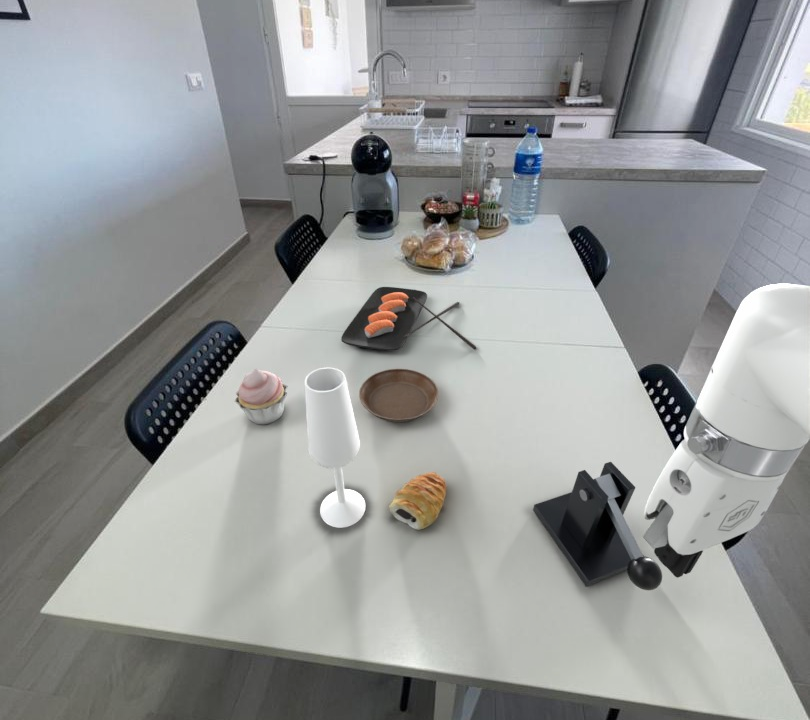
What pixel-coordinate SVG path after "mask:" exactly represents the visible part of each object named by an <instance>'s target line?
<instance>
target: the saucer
mask: <svg viewBox="0 0 810 720" xmlns="http://www.w3.org/2000/svg"><path fill="white" fill-rule="evenodd" d="M358 397H359V401H360V403H361V405H362V406H363V408H364V409H366V410H367V411H368V412H369V413H370V414H371V415H373V416H375V417H377V418H379V419H381V420H385V421H388V422H395V423H396V422H397V423H402V422H409V421H413V420H416V419H419V418H421V417H423V416H424V415H426V414H427V413H429V412H430V411H431V410H432V409H433V408H434V407H435V406H436V404H437V402H438V399H439V389H438V387H437V384H436V383H435V381H434V380H433V379H431V378H430V377H429V376H427V375H426V374H424V373H423V372H419V371H417V370H413V369H408V368H390V369H385V370H381V371H379V372H376V373H374V374H372V375H370V376H369V377H367V379H365V381H363V383H362V384H361V386H360V388H359V391H358Z"/></svg>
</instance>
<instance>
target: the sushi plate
mask: <svg viewBox="0 0 810 720" xmlns="http://www.w3.org/2000/svg"><path fill="white" fill-rule="evenodd" d="M427 299H428V294H427V292H425V291H422V290H418V289H412V288H405V287H404V288H403V287H394V286H379V287H378V288H376V289H374V291H373V292H372V293H371V295H370V296H369V297H368V299H367V300H366V301H365V303H364V304H363V305H362V307H361V308H360V309H359V311H358V312H357V314H356V315H355V317H354V318H352V321H351V322H349V325H348V326H347V327H346V328H345V330H344V332H342V335H341V337H340V338H341V339H340V340H341V343H343V344H345V345H349V346H353V347H357V348H364V349H371V350H378V351H386V352H387V351H388V352H393V351H397V350H399V349H401V348H402V347H403V345H404V344H405V343H406V341H407V339H408V337H409V336H410V335H412V334H414V333H415V332H416V331H417V330H419V329H421V328H422V327H424V326H426V325H427V324H429V323H430V322H432V321H434V320H435V319H437V320H438V321H439V322H441V323H442V324H443V325H444V326H445V327H447V329H449V330H450V331H451V332H452V333H454V334H455V335H456V336H457V337H458V338H460V339H461V340H462V341H463V342H464V343H465V344H467V345H468V346H469V347H470V348H471V349H473V350H477V346H476V345H475V344H474V343H473V342H471V341H470V340H468V339H467V338H466V337H465V336H463V335H462V334H461V333H460V332H459V331H458V330H456V329H455V328H453V327H452V326H450V325H449V324H448V323H446V322H445V321H444V320H443V319H441V318H440V317H441V316H442V315H444V314H446V313H447V312H449V311H451V310H453V309H454V308H456V307H457V306H459V305H460V301H457V302H455V303H453V304H452V305H450V306H448V307H447V308H445V309H443V310H442V311H441V312H439V313H437V315H436V313H434V312H433V311H432V310H431V309H429V308H428V307H426V306H425V303H426V302H427ZM423 309H425V310H426V311H427V312H428V313H430V314H431V315H432V316H433V317H431V318H430V319H428V320H427V321H426V322H424V323H422V324H420V325H419V326H418V327H416V328H414V329H413V327H414V325H415V323H416V321H417V319H418V318H419V315H420V313H421V311H422V310H423ZM412 329H413V330H412Z"/></svg>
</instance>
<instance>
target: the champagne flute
mask: <svg viewBox="0 0 810 720" xmlns="http://www.w3.org/2000/svg"><path fill="white" fill-rule="evenodd" d="M304 397H305V414H306V415H305V416H306V429H307V430H306V434H307V450H308V451H307V452H308V454H309V457H310V458H311V460H312V461H313V462H314V463H316V464H317V465H318V466H319V467H322V468H325V469H329V470H333V477H334V478H333V479H334V484H335V490H334V491H333V492H331V493H330V494H328V495H327V496H326V497H325V498H324V499H323V500H322V502H321V504H320V508H319V512H320V513H319V515H320V517H321V519H322V521H323V522H324V523H325V524H327V525H328V526H330V527H333V528H337V529H340V528H342V529H344V528H348V527H352V526H354V525H355V524H357V523H358V522H359V521H361V519H362V518H363V517H364V514H365V511H366V508H367V507H366V501H365V498H364V497H363V495H362V494H360V493H359V492H358V491H356V490H353V489H350V488H349V489H348V488H345V483H344V474H343V468H344V467H346V466H347V465H349V464H351V463H352V462H353V460H354V459H355V458H356V457H357V456H358V453H359V452H360V448H361V440H360V435H359V431H358V427H357V424H356V418H355V414H354V409H353V404H352V400H351V396H350V391H349V387H348V381H347V378H346V374H345V372H343V371H342V370H341V369H339V368H337V367H330V366H329V367H327V366H325V367H319V368H316V369H314V370H312V371H311V372H309V373H308V374H307V375H306V376H305V378H304Z"/></svg>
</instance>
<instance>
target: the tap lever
mask: <svg viewBox="0 0 810 720" xmlns="http://www.w3.org/2000/svg"><path fill="white" fill-rule="evenodd" d="M593 480H594V481H595V482H596V483H597V484H598V485H599V486H600V487H601V489H602V490H603V491H604V492H605V493H606V494H607V495H608V500H607V502H606V505H605V507H606V509H607V511H608V513H609V515H610V517H611V519H612V521H613V523H614V526H615V528H616V530H617V532H618V534H619V536H620V538H621V540H622V542H623V544H624V546H625V548H626V550H627V552H628V554H629V556H630V558H631V561H630V562H629V564H628V567H627V570H626V571H627V576H628V578H629V580H630V582H631V583H632V584H633V585H634V586H635V587H636V588H638V589H640V590H644V591H653V590H656V589H657V588H659V587H660V586H661V584H662V582H663V571H662V569H661V567H660V566H659V564H658V563H657V562H656V561H655V560H654V559H652V558H651V557H648V556H645V555H644V554H643V553H642V550H641V549H640V547H639V544H638V543H637V541H636V539H635V537H634V535H633V533H632V531H631V529H630V527H629V524H628V523H627V521H626V519H625V516H624V514H623V515H622V513H621V511H620V509H619V507H618V505H617V503H616V501H615V499H614V498H615V497H618V496H621V495H620V493H619V491H618V489H617V487H616V485H615V483H614V481H613V479H612V477H611V475H610V474H607V475H604V476H601V477H600V476H598V477H595V478H593ZM642 554H643V555H644V556H643V555H642Z"/></svg>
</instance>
